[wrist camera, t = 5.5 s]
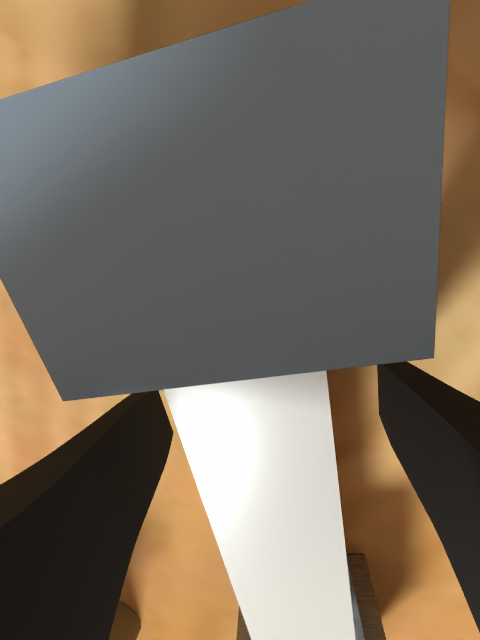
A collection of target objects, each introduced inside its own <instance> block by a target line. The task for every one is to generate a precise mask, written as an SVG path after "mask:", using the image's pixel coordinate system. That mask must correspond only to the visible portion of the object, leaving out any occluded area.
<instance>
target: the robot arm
mask: <svg viewBox="0 0 480 640" xmlns="http://www.w3.org/2000/svg"><path fill="white" fill-rule="evenodd" d="M377 370H378V398H379V415H380V418H381V421H382V423H383V426H384V429H385V431H386V434H387V436H388V439H389V441H390V444H391V446H392V448H393V450H394V452H395V454H396V456H397V457H398V459H399V461H400V463H401V465H402V467H403V469H404V471H405V473H406V474H407V476H408V478H409V480H410V482H411V484H412V486H413V488H414V489H415V491H416V493H417V495H418V497H419V499H420V501H421V503H422V504H423V506H424V508H425V510H426V512H427V514H428V516H429V517H430V519H431V521H432V523H433V525H434V527H435V529H436V531H437V533H438V536H439V538H440V540H441V542H442V544H443V546H444V549H445V551H446V553H447V556H448V558H449V560H450V563H451V565H452V567H453V570H454V572H455V574H456V577H457V579H458V581H459V584H460V586H461V588H462V591H463V593H464V596H465V598H466V600H467V603H468V605H469V608H470V610H471V612H472V615H473V617H474V620H475V622H476V625H477V627H478V629H479V632H480V402H479V401H477V400H475V399H473V398H472V397H470V396H468V395H466V394H464V393H462V392H460V391H458V390H456V389H455V388H453V387H451V386H449V385H447V384H445V383H444V382H442V381H440V380H438V379H437V378H435V377H433V376H431V375H429V374H428V373H426V372H424V371H422V370H421V369H419V368H417V367H415V366H414V365H412V364H410V363H408V362H407V361H404V362H396V363H387V364H379V365H377ZM172 437H173V430H172V427H171V425H170V422H169V419H168V416H167V413H166V411H165V408H164V405H163V402H162V400H161V397H160V394H159V391H158V390H155V391H147V392H138V393H132V394H130V395H129V396H128V397H126V398H125V399H123V400H122V401H121V402H119V403H118V404H117V405H115V406H114V407H113V408H111V409H110V410H109V411H108V412H106V413H105V414H104V415H102V416H101V417H100V418H98V419H97V420H96V421H94V422H93V423H92V424H90V425H89V426H88V427H87V428H85V429H84V430H82V431H81V432H80V433H78V434H77V435H75V436H74V437H73V438H71V439H70V440H68V441H67V442H66V443H64V444H63V445H62V446H60V447H59V448H57V449H56V450H55V451H53V452H52V453H50V454H49V455H47V456H46V457H44V458H43V459H41V460H40V461H38V462H37V463H35V464H34V465H32V466H30V467H29V468H27V469H26V470H24V471H22V472H21V473H19V474H18V475H16V476H14V477H13V478H11V479H9V480H8V481H6V482H4V483H3V484H1V485H0V640H109V636H110V632H111V628H112V625H113V621H114V617H115V613H116V609H117V606H118V602H119V598H120V594H121V590H122V587H123V583H124V580H125V576H126V573H127V570H128V566H129V563H130V559H131V556H132V552H133V549H134V546H135V543H136V540H137V537H138V535H139V532H140V529H141V526H142V524H143V521H144V519H145V516H146V514H147V511H148V508H149V506H150V503H151V501H152V498H153V496H154V493H155V491H156V488H157V485H158V483H159V480H160V477H161V475H162V472H163V470H164V467H165V464H166V461H167V458H168V454H169V450H170V446H171V441H172Z"/></svg>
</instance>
